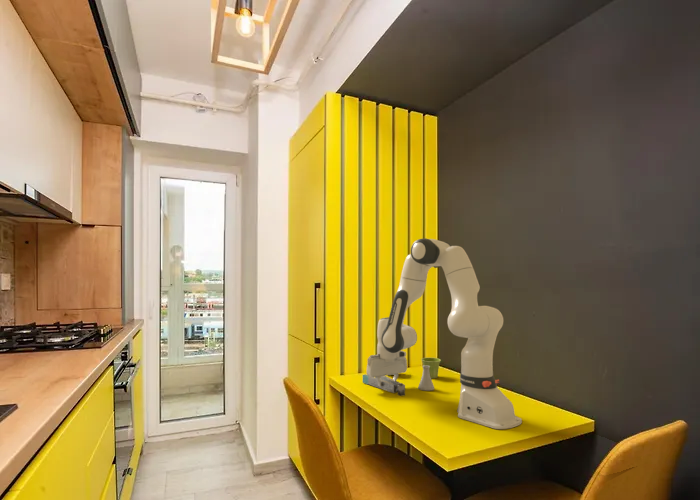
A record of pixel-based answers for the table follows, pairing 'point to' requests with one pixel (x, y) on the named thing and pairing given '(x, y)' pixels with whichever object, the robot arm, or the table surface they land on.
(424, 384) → the flask
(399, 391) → the tong pivot
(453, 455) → the table surface
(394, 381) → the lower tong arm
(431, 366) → the plant pot
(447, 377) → the table surface
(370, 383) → the upper tong arm
